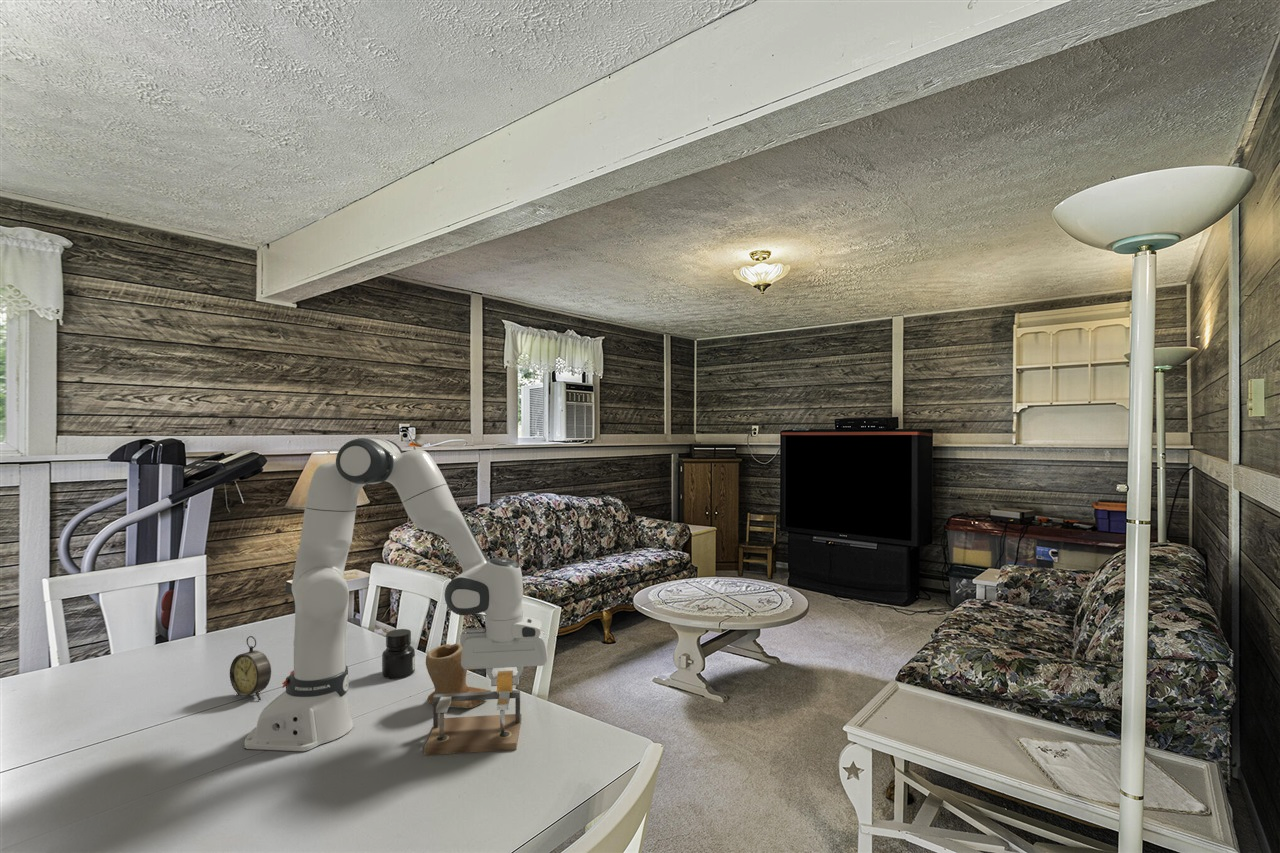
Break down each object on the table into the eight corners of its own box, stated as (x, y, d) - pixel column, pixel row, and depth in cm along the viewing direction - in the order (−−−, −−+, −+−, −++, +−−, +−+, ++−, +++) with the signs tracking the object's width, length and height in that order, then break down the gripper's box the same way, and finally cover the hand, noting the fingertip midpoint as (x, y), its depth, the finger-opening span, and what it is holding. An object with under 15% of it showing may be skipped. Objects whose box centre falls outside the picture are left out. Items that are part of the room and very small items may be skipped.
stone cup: (415, 708, 158) (415, 650, 158) (446, 690, 169) (446, 635, 169) (464, 719, 152) (463, 658, 152) (492, 699, 163) (492, 642, 163)
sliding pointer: (494, 734, 140) (494, 685, 140) (498, 717, 148) (498, 671, 148) (509, 733, 141) (509, 684, 141) (513, 716, 149) (513, 670, 149)
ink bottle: (422, 672, 181) (421, 631, 181) (396, 682, 174) (395, 640, 174) (401, 665, 186) (400, 625, 186) (374, 675, 179) (374, 634, 179)
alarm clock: (228, 697, 165) (227, 636, 165) (247, 689, 170) (247, 630, 170) (256, 704, 161) (256, 642, 161) (275, 695, 166) (275, 635, 166)
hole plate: (423, 755, 135) (423, 715, 135) (437, 724, 149) (437, 688, 149) (516, 749, 138) (516, 710, 138) (521, 719, 151) (521, 684, 151)
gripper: (457, 633, 143) (458, 692, 143) (546, 629, 145) (547, 688, 145) (462, 624, 149) (462, 681, 149) (547, 620, 151) (548, 677, 151)
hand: (505, 684), depth 147 cm, fingers closed on sliding pointer, 3 cm apart
